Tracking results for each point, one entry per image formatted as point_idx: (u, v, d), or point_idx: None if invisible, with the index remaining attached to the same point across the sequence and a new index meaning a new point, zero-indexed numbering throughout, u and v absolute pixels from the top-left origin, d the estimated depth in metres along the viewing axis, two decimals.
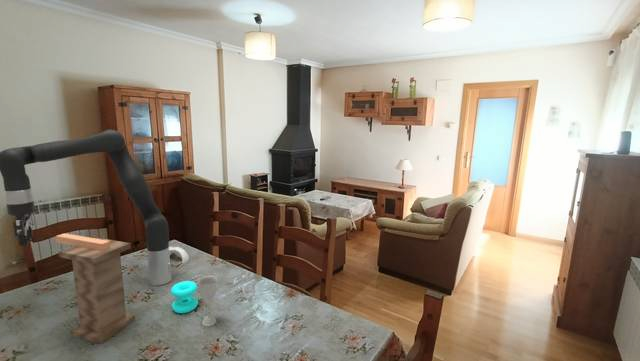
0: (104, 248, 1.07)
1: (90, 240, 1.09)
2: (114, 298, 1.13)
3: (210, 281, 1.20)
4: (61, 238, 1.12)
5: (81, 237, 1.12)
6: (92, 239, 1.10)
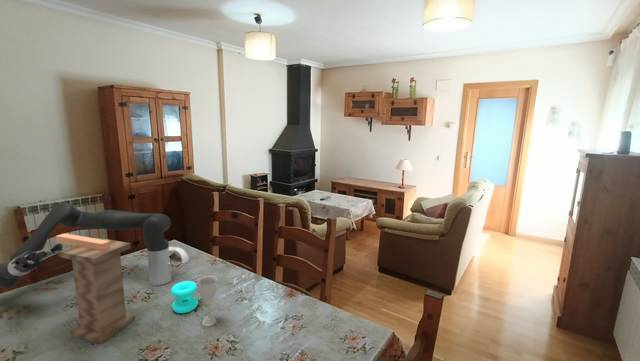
0: (104, 248, 1.07)
1: (90, 240, 1.09)
2: (114, 298, 1.13)
3: (210, 281, 1.20)
4: (61, 238, 1.12)
5: (81, 237, 1.12)
6: (92, 239, 1.10)
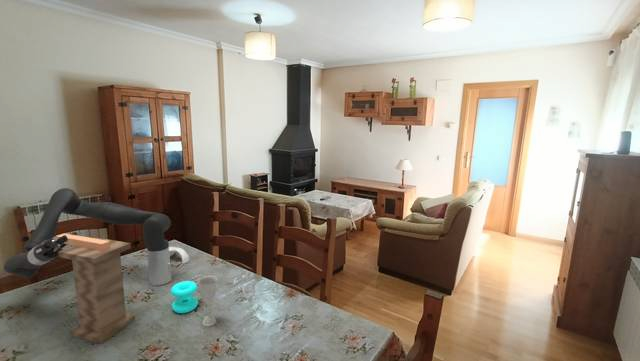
0: (104, 248, 1.07)
1: (90, 240, 1.09)
2: (114, 298, 1.13)
3: (210, 281, 1.20)
4: None
5: (81, 237, 1.12)
6: (92, 239, 1.10)
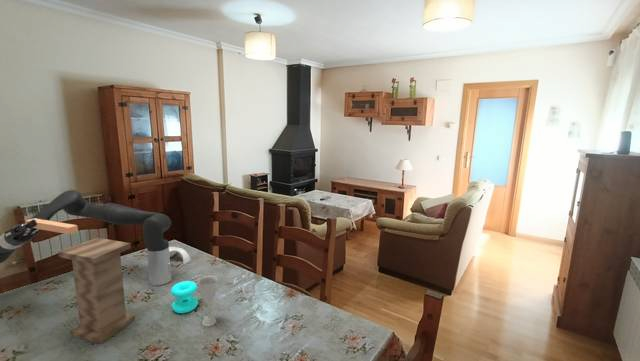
0: (71, 232, 1.11)
1: (58, 224, 1.12)
2: (114, 298, 1.13)
3: (210, 281, 1.20)
4: None
5: (50, 221, 1.15)
6: (60, 223, 1.14)
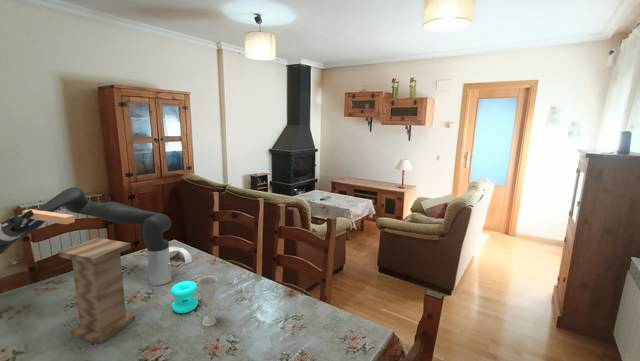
0: (68, 222, 1.10)
1: (55, 214, 1.12)
2: (114, 298, 1.13)
3: (210, 281, 1.20)
4: None
5: (47, 212, 1.15)
6: (57, 213, 1.13)
